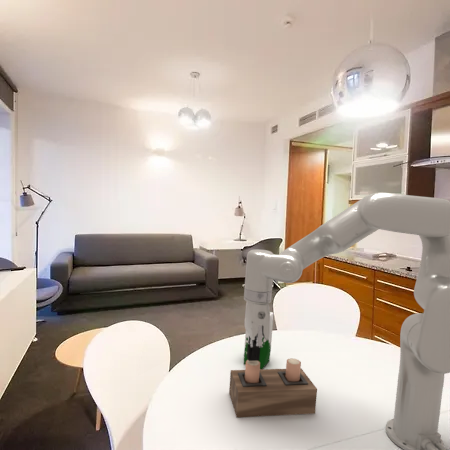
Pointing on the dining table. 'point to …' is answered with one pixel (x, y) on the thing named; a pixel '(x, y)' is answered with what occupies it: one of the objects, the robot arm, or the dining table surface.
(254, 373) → the peg
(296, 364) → the peg
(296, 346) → the dining table surface
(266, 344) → the milk carton
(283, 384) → the walnut block
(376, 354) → the dining table surface
